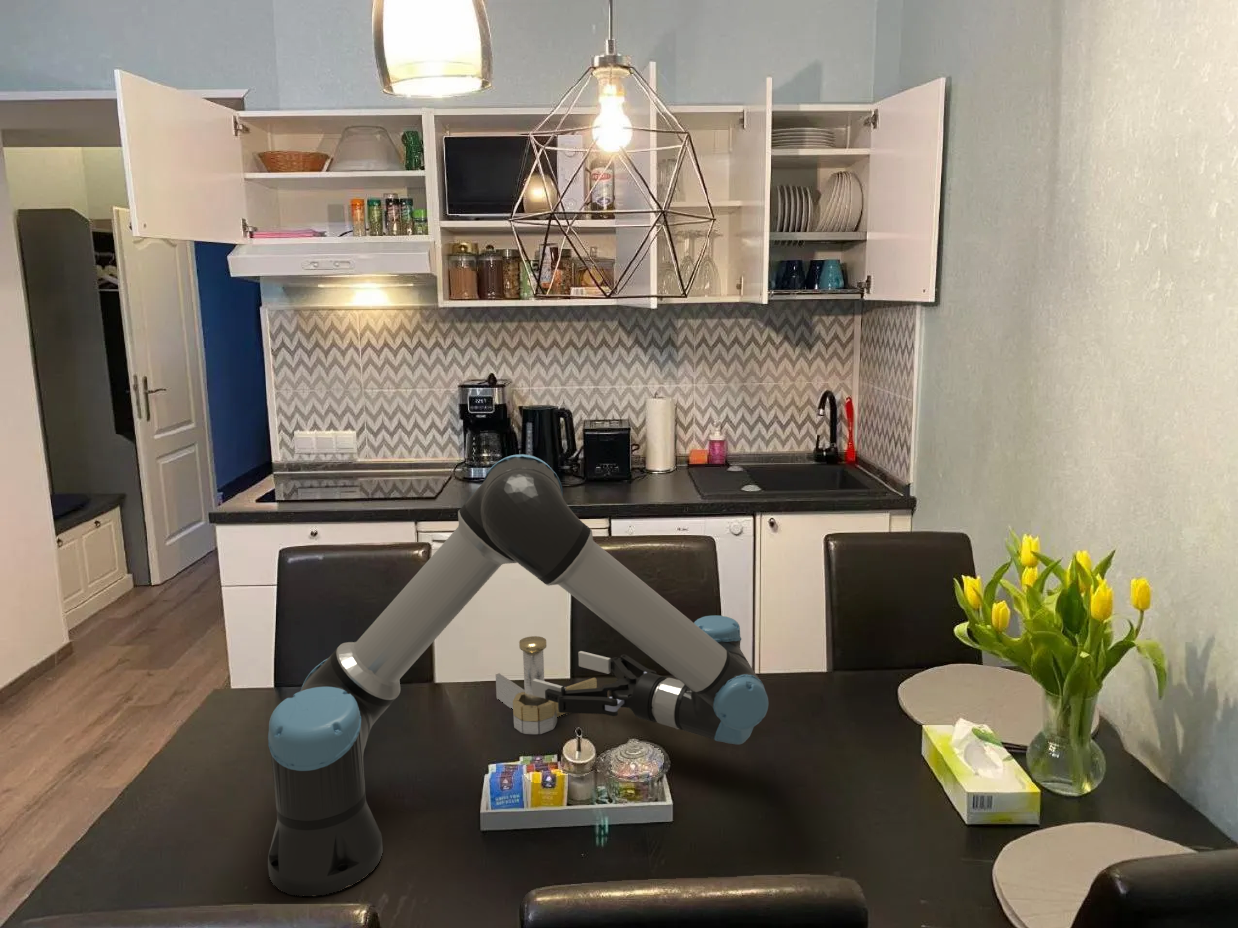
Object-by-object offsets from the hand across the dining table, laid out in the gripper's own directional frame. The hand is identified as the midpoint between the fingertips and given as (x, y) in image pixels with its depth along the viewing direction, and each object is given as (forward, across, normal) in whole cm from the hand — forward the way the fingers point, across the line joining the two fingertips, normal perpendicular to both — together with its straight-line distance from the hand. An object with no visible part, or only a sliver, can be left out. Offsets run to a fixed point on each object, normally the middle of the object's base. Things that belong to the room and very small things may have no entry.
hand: (557, 672), depth 158 cm
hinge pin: (+5, 0, -11) cm, 12 cm away
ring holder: (+6, +2, -11) cm, 13 cm away
